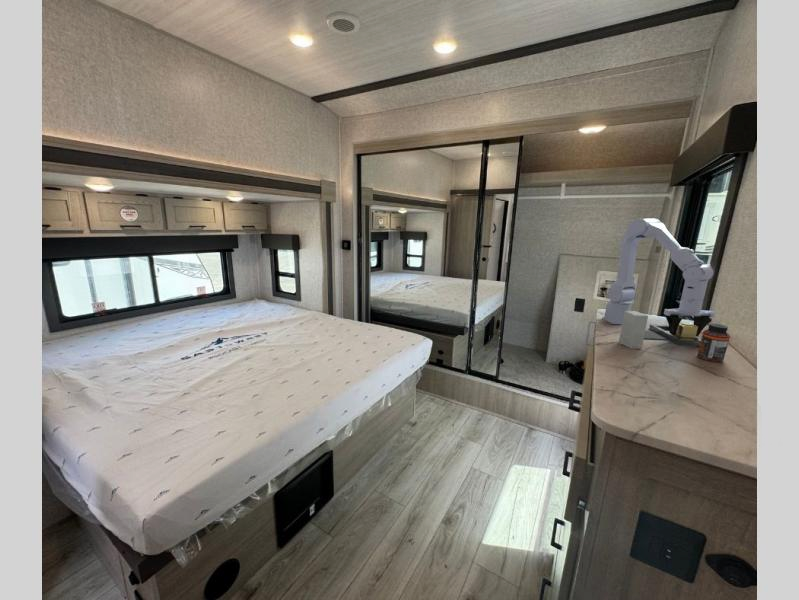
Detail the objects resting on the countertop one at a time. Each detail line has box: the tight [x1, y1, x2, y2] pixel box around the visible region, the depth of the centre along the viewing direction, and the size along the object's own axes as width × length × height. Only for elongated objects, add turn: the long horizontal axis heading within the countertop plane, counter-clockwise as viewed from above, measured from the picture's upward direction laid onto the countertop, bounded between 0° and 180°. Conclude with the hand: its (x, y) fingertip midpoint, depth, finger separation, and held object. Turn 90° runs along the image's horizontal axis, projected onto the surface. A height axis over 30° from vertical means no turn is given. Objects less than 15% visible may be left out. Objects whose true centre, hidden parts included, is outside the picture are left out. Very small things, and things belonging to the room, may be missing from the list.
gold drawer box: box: [675, 321, 698, 339], centre depth 111 cm, size 4×4×7 cm
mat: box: [644, 330, 668, 341], centre depth 117 cm, size 9×9×1 cm
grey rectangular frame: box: [648, 324, 702, 347], centre depth 115 cm, size 17×8×2 cm, turn 170°
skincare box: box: [618, 310, 649, 350], centre depth 106 cm, size 6×4×12 cm
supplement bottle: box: [697, 323, 731, 363], centre depth 96 cm, size 6×6×11 cm
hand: (683, 334), depth 111 cm, fingers open, 7 cm apart
